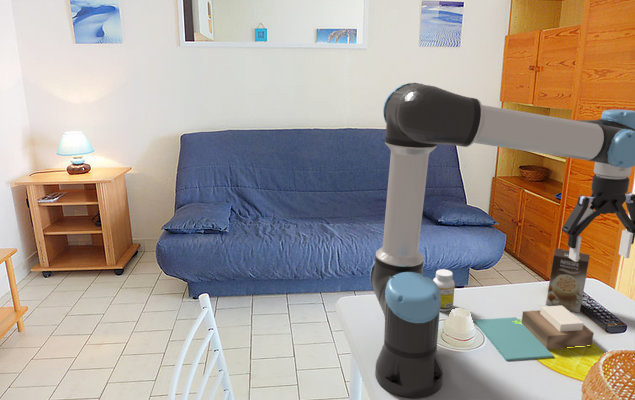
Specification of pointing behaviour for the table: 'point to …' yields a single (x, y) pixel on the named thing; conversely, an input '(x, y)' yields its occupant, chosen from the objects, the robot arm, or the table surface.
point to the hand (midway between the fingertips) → (598, 257)
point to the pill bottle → (445, 288)
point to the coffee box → (567, 280)
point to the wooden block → (555, 332)
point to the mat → (512, 339)
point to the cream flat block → (561, 318)
